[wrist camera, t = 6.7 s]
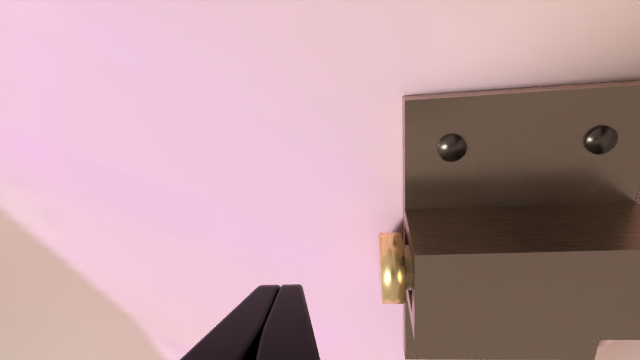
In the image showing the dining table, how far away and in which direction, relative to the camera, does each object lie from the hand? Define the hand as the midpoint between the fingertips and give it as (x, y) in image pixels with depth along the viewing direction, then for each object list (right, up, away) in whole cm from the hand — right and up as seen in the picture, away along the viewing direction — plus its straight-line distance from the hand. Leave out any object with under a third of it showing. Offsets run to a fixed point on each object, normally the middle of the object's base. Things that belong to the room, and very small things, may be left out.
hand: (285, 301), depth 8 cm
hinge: (+10, 0, +12) cm, 16 cm away
